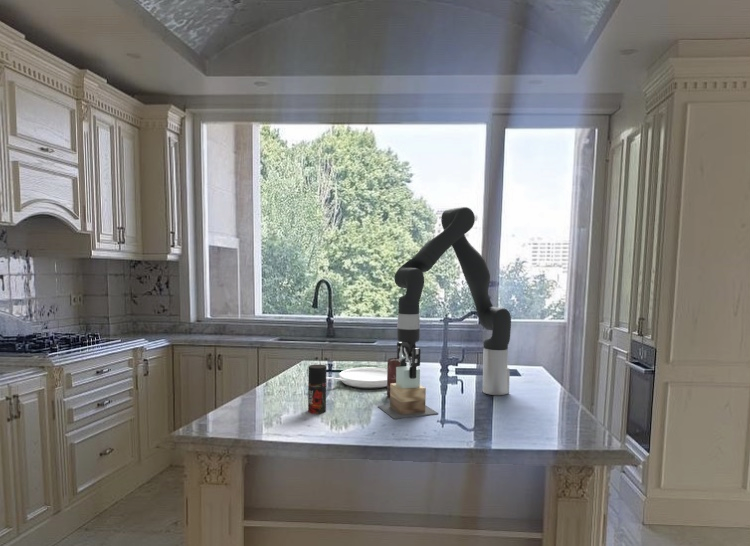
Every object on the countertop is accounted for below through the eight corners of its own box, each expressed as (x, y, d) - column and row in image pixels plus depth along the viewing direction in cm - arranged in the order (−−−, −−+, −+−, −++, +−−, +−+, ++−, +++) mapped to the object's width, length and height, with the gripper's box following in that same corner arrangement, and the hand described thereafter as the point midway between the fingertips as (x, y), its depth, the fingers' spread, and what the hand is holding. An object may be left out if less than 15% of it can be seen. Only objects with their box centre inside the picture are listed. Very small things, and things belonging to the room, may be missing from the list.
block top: (413, 393, 167) (413, 381, 167) (425, 399, 158) (425, 387, 158) (390, 395, 163) (390, 383, 163) (400, 402, 155) (400, 390, 155)
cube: (411, 382, 165) (412, 365, 165) (419, 387, 159) (420, 369, 159) (396, 384, 162) (396, 366, 162) (403, 388, 157) (403, 370, 157)
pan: (411, 385, 195) (411, 373, 195) (330, 399, 174) (330, 386, 174) (376, 373, 216) (376, 363, 216) (300, 384, 194) (300, 372, 194)
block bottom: (413, 404, 167) (413, 393, 167) (425, 411, 158) (425, 399, 158) (389, 406, 164) (390, 395, 163) (400, 414, 155) (400, 402, 155)
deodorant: (328, 409, 161) (329, 365, 161) (321, 414, 155) (321, 368, 155) (313, 407, 163) (313, 363, 163) (304, 412, 157) (305, 367, 157)
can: (402, 399, 174) (403, 361, 174) (385, 398, 176) (386, 360, 175) (405, 394, 180) (405, 358, 180) (388, 393, 181) (389, 357, 181)
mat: (419, 402, 170) (419, 401, 170) (438, 414, 157) (438, 413, 157) (377, 406, 165) (377, 405, 165) (393, 419, 152) (393, 418, 152)
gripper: (428, 329, 155) (427, 379, 155) (409, 324, 168) (408, 370, 169) (407, 330, 152) (406, 381, 153) (390, 324, 166) (389, 371, 166)
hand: (407, 375), depth 161 cm, fingers open, 7 cm apart
